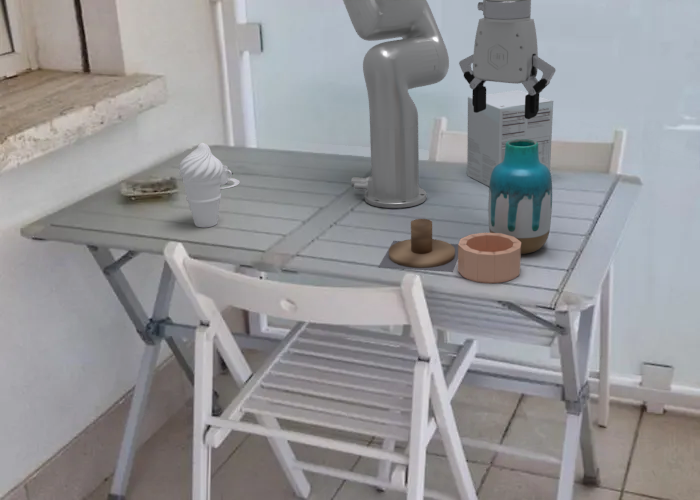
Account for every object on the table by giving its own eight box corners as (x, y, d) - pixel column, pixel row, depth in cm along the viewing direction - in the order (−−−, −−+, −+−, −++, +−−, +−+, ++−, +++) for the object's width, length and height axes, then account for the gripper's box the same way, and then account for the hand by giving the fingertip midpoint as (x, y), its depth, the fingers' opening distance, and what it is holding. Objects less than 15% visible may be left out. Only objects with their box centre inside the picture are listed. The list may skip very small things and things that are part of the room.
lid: (382, 265, 157) (381, 231, 155) (396, 242, 167) (395, 210, 165) (449, 269, 154) (449, 235, 152) (459, 245, 164) (459, 213, 162)
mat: (378, 270, 157) (378, 266, 156) (393, 243, 168) (393, 240, 167) (452, 274, 154) (452, 271, 153) (463, 247, 165) (463, 244, 164)
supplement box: (551, 182, 198) (555, 100, 192) (497, 192, 193) (499, 108, 187) (517, 167, 209) (520, 89, 203) (465, 175, 205) (466, 95, 199)
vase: (481, 241, 167) (483, 136, 160) (540, 238, 168) (544, 133, 161) (495, 264, 157) (497, 153, 150) (557, 260, 158) (562, 149, 151)
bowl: (454, 284, 150) (454, 252, 148) (463, 261, 159) (463, 231, 157) (517, 288, 148) (518, 256, 146) (522, 264, 156) (523, 234, 154)
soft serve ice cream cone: (192, 234, 176) (183, 151, 170) (178, 221, 183) (169, 141, 177) (234, 226, 179) (227, 144, 174) (219, 214, 186) (212, 135, 181)
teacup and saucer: (194, 185, 207) (192, 167, 205) (223, 177, 212) (222, 159, 210) (217, 193, 200) (215, 175, 199) (247, 184, 205) (245, 166, 204)
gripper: (449, 11, 155) (449, 113, 161) (545, 16, 145) (541, 124, 152) (472, 5, 161) (471, 104, 167) (566, 10, 151) (561, 115, 157)
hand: (504, 114), depth 159 cm, fingers open, 9 cm apart
